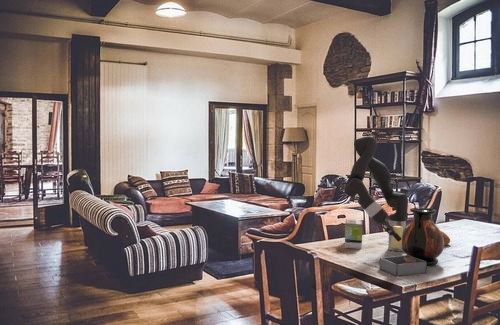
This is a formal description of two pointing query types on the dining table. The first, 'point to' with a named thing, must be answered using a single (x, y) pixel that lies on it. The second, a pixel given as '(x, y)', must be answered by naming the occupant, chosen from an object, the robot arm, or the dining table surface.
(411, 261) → the cube
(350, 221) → the tea box
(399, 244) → the candle
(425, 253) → the amphora vase
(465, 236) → the dining table surface
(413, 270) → the tote
